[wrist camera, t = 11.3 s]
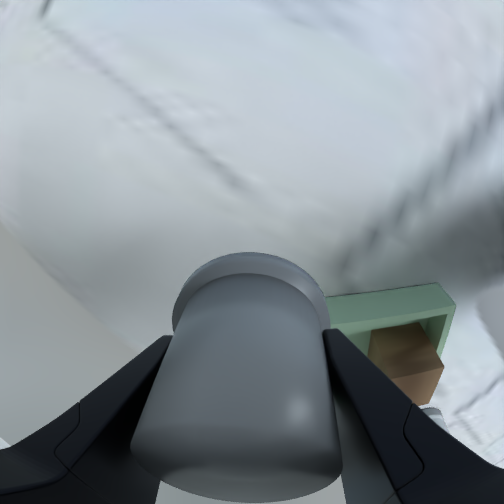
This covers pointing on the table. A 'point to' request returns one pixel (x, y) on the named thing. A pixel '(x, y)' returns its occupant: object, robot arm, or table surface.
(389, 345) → the walnut block
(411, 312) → the parts tray
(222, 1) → the table surface
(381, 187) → the table surface
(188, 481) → the grey domed knob
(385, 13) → the table surface
